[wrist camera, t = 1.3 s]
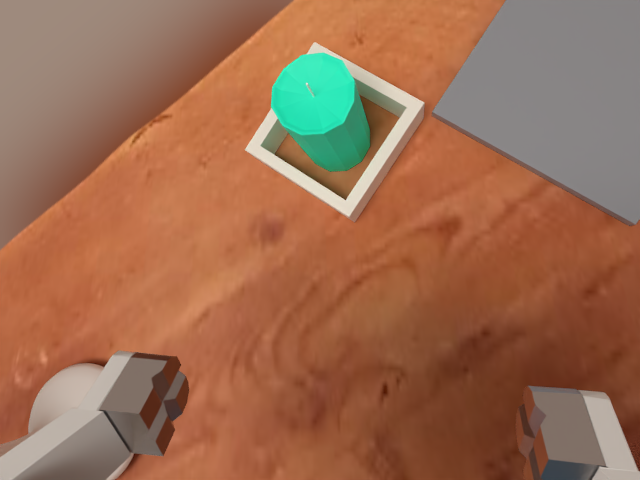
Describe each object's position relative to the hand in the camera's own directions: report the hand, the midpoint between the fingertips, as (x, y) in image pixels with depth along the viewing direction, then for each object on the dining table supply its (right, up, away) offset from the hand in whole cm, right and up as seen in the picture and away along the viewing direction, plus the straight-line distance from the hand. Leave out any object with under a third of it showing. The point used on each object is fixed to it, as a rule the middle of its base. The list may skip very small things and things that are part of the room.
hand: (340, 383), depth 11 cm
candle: (+1, +13, +30) cm, 33 cm away
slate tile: (+22, +17, +26) cm, 38 cm away
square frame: (+1, +13, +30) cm, 33 cm away
